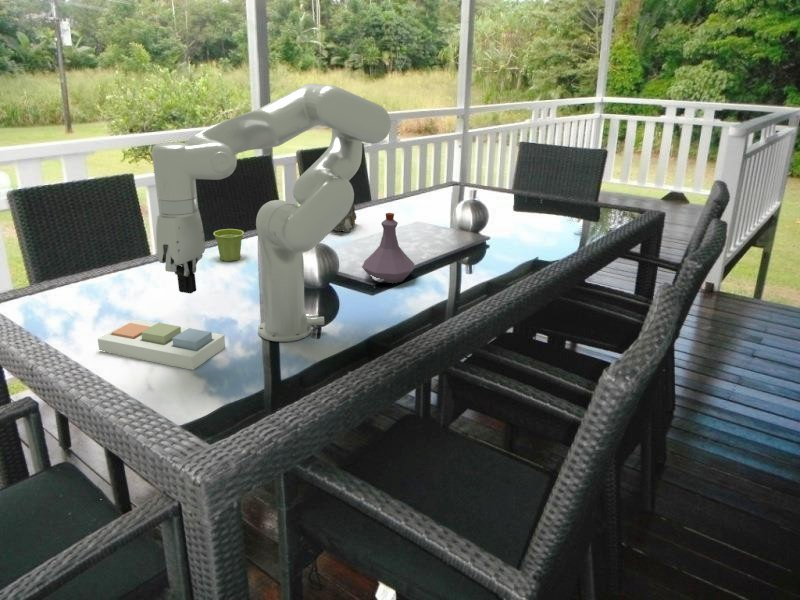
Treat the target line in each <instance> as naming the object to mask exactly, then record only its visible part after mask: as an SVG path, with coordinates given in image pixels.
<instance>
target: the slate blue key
mask: <svg viewBox="0 0 800 600" xmlns="http://www.w3.org/2000/svg"><path fill="white" fill-rule="evenodd" d="M187 328H188V329H187V330H185V331H183V332H182V333H180V334H178V335H177V336H175V337H173V338H172V339H173V347H177V348H182V349H188V350H193V351H198V350H200V349H201V348H202V347H204V346H205V345H207V344H208V343H210V342H211V341H212V333H213V332H212V331H207V330H201V329H196V328H190V327H187Z"/></svg>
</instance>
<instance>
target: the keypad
mask: <svg viewBox="0 0 800 600" xmlns="http://www.w3.org/2000/svg"><path fill="white" fill-rule="evenodd" d="M129 323H133V324H139V325H144V326H149V327H152V326H153V325H155V324H157V323H158V322H156V321H150V320H149V321H148V320H143V319H139V318H138V319H137V318H134V319H133V320H131V321H129V322H126V323H125V324H123V325H121V326H119V327H118V328H116V329H113V330H111V331H109V332H108V333H105V334H104V335H102V336H101V337H99V338H97V343H98V349H99V350H102V351H105V352H104V353H106V352H110V353H109V354H111V353H114V354H113V355H116V354H118V355H117V356H121V355H123V356H122V357H126V356H127V358H131V357H132V359H137V360H143V361H147V362H150V363H151V362H153V363H157V364H162V365H167V366H171V367H172V366H173V367H175V368H176V367H177V368H182V369H187V370H191V371H194V370H195V369H197V368H198V367H199V366H201V365H202V364H204V363H205V362H206V361H208V360H209V359H211V358H212V357H213V356H215V355H216V354H218V353H219V352H221V351H222V350H223V349H225V348H226V340H225V339H226V338H225V334H222V333H216V332H212V341H211V342H210V343H208V344H207V345H205V346H204V347H202V348H201V349H200V350H198V351H193V350H188V349H182V348H177V347H173V340H172V341H171V342H169V343H168V344H166V345H161V344H156V343H151V342H146V341H142V335H141V336H139V337H137V338H135V339H130V338H125V337H120V336H114V335H112V332H114V331H115V330H117V329H119V328H121V327H123V326H125V325H127V324H129ZM180 327H181V333H182V332H183V331H185V330H187V329H188V328H189V327H182V326H180ZM99 350H98V351H99Z"/></svg>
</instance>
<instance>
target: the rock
mask: <svg viewBox="0 0 800 600" xmlns="http://www.w3.org/2000/svg"><path fill="white" fill-rule="evenodd" d="M355 210H356V207H355V204H354V202H353V204H352V207H351V209H350V211H349V212H348V214H347V215H346V216H345V217H344V218H343V220H342V221H341V222H340V223H339V224H338V225H337V226H336V227H335V228H334V229H333V230H334V231H337V232H339V231H340V232H341V231H343V232H346V233H347V232H350V231H351V230H352V229H353V227H354V226H355V225H356V220H357V214H356V212H355Z"/></svg>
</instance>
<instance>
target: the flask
mask: <svg viewBox="0 0 800 600" xmlns="http://www.w3.org/2000/svg"><path fill="white" fill-rule="evenodd" d="M394 216H395V213H394V212H387V213H386V212H385V220H383V221H381V227H382V228H383V229H382V231H383V232H382V236H381V240H380V243H379V246H378V247H377V248H376V249H375V250H374V251H373V253H371V254H370V255H368V257H367V258H366V259H365V260H364V262H363V263H362V265H361V268H362V269H363V270H364V272H366V274H367V275H368V274H369V275H372V276H374V277H376V278H380V279H384V280H385V281H386V282H388V283H392V284H391V285H394V284H393V283H395V284H399V283H402V282H403V281H405V279H407V277H409V275H410V274H411V273H412V272H413V271H414V269H415V262H414V261H413V260H411V258H409V256H408V255H407V254H406V253H405V252H404V251H403V250H402V248H401V247H400V246H399V242H398V237H397V234H396V233H397V232H396V228H397V226H398V224H399V222H398V221H396V220H395V219H394V218H395V217H394ZM369 275H368V276H369ZM398 282H399V283H398Z"/></svg>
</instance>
